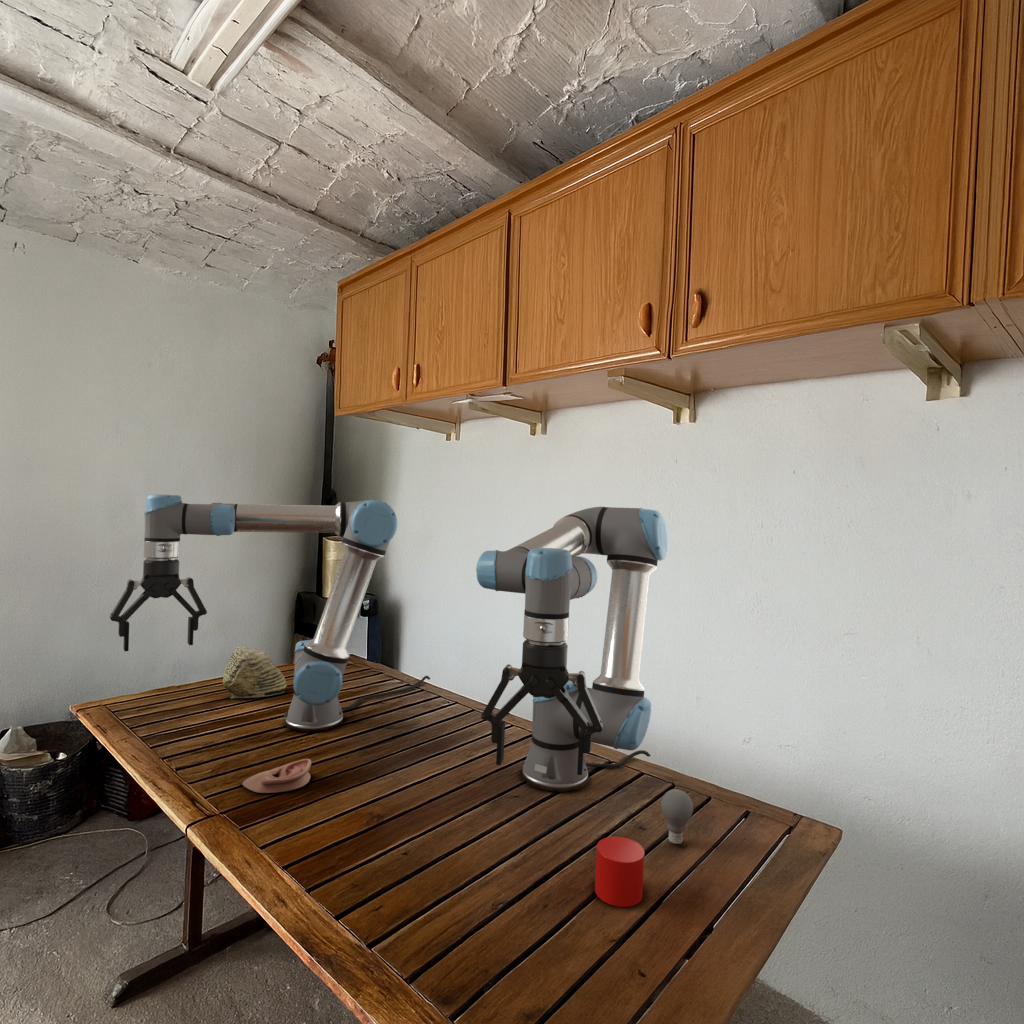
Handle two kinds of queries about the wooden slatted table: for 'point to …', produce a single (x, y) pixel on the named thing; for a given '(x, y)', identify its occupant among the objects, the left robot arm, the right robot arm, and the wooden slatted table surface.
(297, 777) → the anatomical model
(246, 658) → the fossil
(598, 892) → the can
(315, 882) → the wooden slatted table surface
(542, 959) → the wooden slatted table surface
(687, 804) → the light bulb
